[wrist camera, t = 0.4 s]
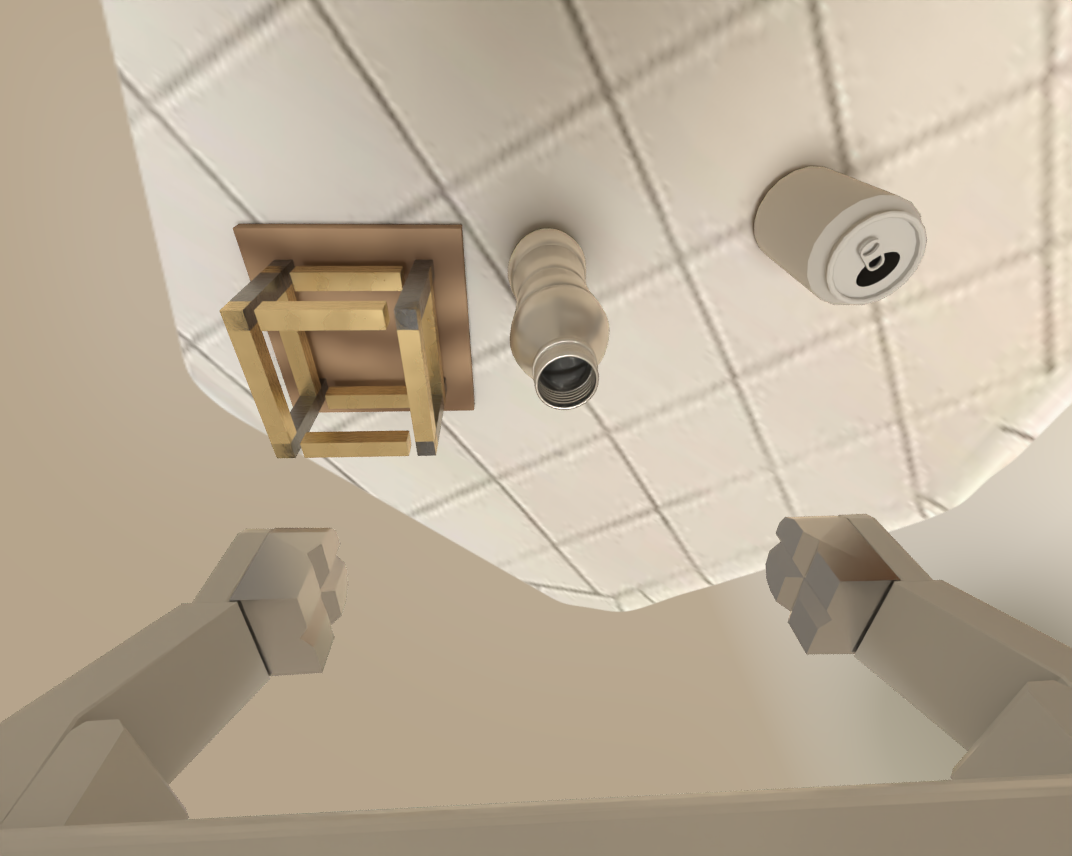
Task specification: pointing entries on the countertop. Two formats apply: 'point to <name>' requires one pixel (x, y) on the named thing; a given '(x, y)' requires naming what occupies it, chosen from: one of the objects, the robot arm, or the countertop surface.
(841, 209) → the can
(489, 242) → the countertop surface
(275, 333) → the walnut board
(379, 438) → the frame
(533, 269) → the plastic bottle
